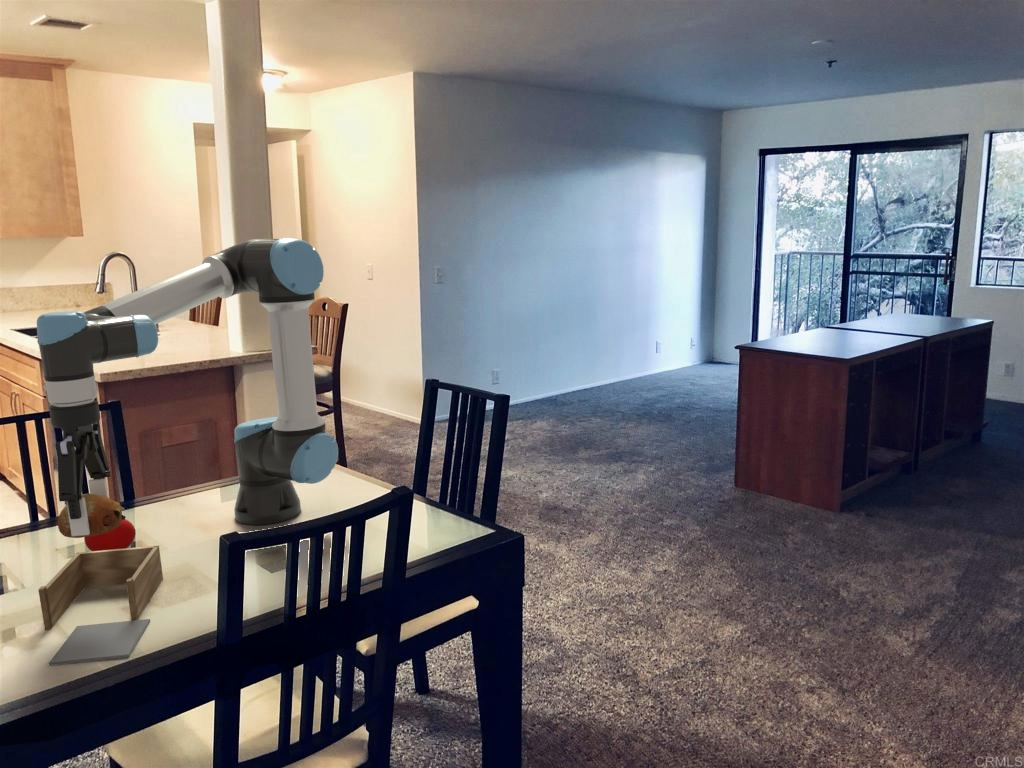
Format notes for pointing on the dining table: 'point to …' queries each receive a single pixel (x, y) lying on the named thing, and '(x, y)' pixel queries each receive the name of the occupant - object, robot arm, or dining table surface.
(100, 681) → the dining table surface
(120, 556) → the box
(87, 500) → the bread roll
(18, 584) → the dining table surface
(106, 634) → the slate board
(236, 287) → the robot arm
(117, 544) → the red heart shape
